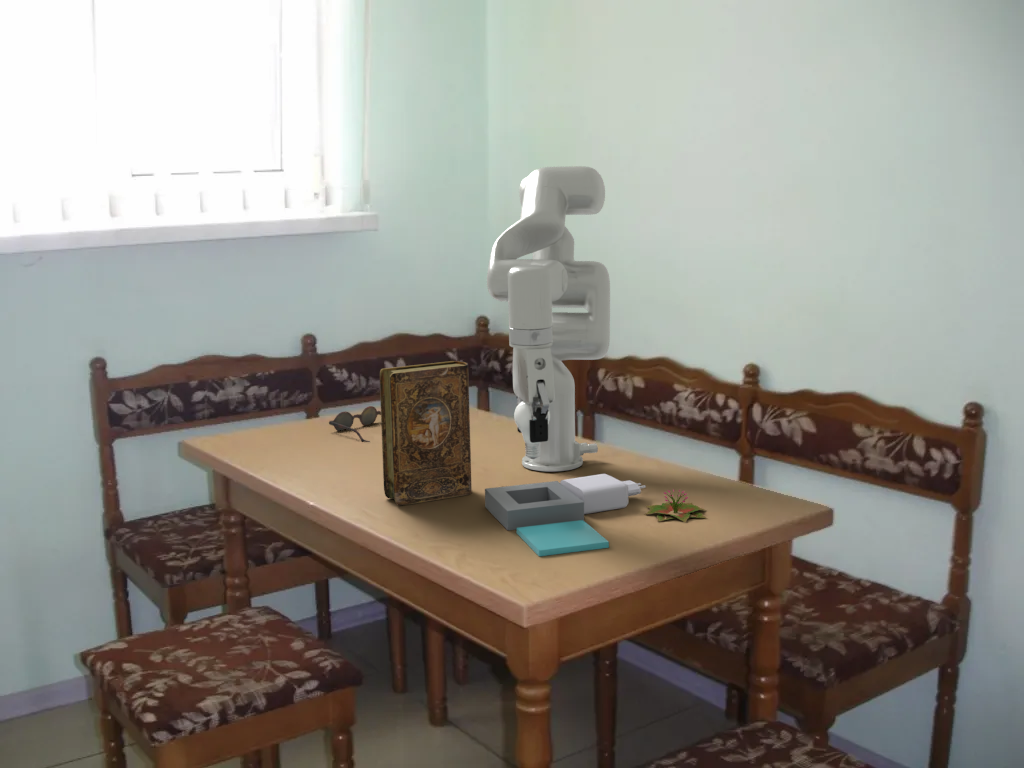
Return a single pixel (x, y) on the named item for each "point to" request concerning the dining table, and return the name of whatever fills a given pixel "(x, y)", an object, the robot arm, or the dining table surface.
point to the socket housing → (533, 504)
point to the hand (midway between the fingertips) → (532, 435)
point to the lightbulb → (527, 427)
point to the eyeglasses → (346, 420)
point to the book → (425, 432)
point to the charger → (602, 492)
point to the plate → (562, 538)
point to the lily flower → (675, 509)
